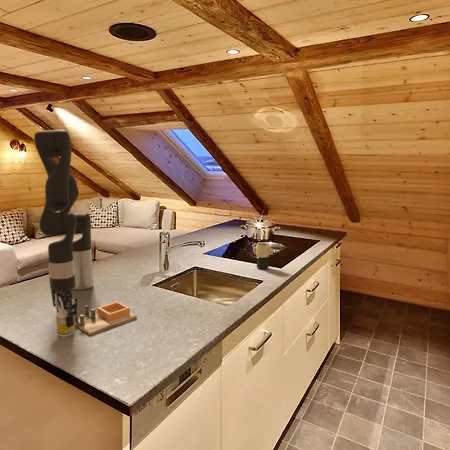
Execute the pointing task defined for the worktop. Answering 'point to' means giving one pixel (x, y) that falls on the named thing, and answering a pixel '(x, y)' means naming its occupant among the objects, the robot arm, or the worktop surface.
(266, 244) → the character mug
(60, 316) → the supplement bottle
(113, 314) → the box
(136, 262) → the worktop surface
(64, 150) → the robot arm
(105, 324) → the board
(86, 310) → the set of grey pegs
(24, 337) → the worktop surface
